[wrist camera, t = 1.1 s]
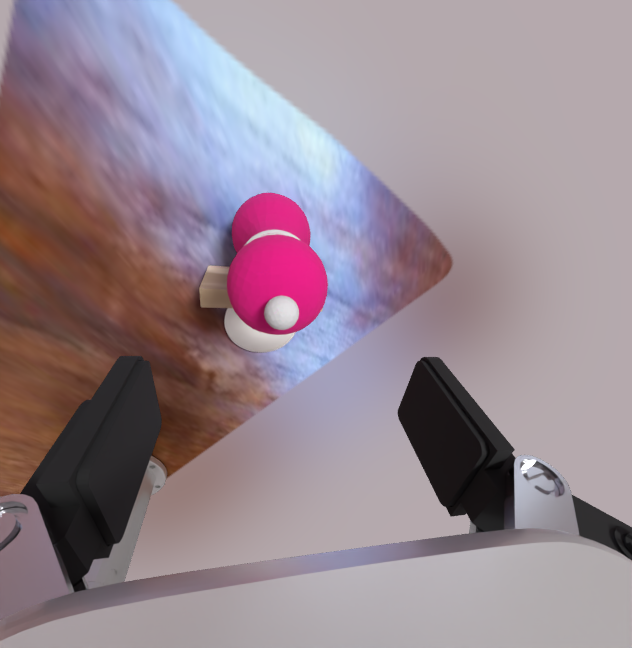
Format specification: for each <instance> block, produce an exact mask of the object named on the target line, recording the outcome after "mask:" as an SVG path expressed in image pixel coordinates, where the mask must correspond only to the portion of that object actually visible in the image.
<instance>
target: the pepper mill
mask: <svg viewBox="0 0 632 648" xmlns="http://www.w3.org/2000/svg"><path fill="white" fill-rule="evenodd" d="M232 240H233V245H234V248H235V250H236V252H237V255H236V256H235V258H234V259H233V261H232V263H231V265H230V268H229V272H228V275H227V293H228V296H229V300H230V303H231V305H232V307H233V309H234V311H235V313H236V314H237V315H238V316H239V318H240V319H241V320H242V321H243V322H244V323H245V324H247V325H248V326H249V327H251V328H253V329H255V330H257V331H259V332H263V333H267V334H273V335H286V334H290V333H294V332H297V331H299V330H301V329H303V328H305V327H306V326H308V325H309V324H310V323H311V322H312V321H313V320H314V319H315V318H316V317H317V316H318V314H319V313H320V311H321V310H322V308H323V305H324V303H325V299H326V296H327V286H328V283H327V275H326V271H325V269H324V266H323V264H322V261H321V260H320V258H319V257H318V255H317V254H316V253H315V252H314V251H313V250H312V249H311V247H310V246H309V244H310V229H309V224H308V221H307V218H306V216H305V214H304V212H303V211H302V210H301V208H300V207H299V206H298V205H297V204H296V203H295V202H293V201H292V200H291V199H289V198H287V197H285V196H282V195H279V194H275V193H262V194H258V195H256V196H254V197H252V198H250V199H248V200H247V201H246V202H245V203H244V204H242V205H241V207H240V208H239V209H238V211H237V212H236V215H235V217H234V220H233V224H232Z"/></svg>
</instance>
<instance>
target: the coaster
mask: <svg viewBox="0 0 632 648" xmlns="http://www.w3.org/2000/svg"><path fill="white" fill-rule="evenodd" d="M224 323H225V329H226V332H227V334H228V336H229V337H230V339H231V340H232V341H233V342H234V343H235V344H236V345H238V346H239V347H241V348H243V349H245V350H248V351H252V352H260V353H262V352H270V351H274V350H277V349H279V348H281V347H283V346H284V345H286V344H287V343H288V342H289V341H290V340H291V339H292V338H293V336H294V334H295V332H294V333H290V334H286V335H273V334H267V333H263V332H259V331H257V330H255V329H253V328H251V327H249V326H248V325H247V324H245V323H244V322H243V321H242V320H241V319H240V318H239V316H238V315H237V314H236V313H235V311H234V309H233V308H227V311H226V314H225V321H224Z"/></svg>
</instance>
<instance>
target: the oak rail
mask: <svg viewBox="0 0 632 648" xmlns="http://www.w3.org/2000/svg"><path fill="white" fill-rule="evenodd" d="M229 268H230V267H226V266H210V265H209V266H208V268H207V271H206V273H205V276H204V278H203V280H202V283H201V285H200V288H199V292H200V303H201V307H208V308H233V307H232V305H231V303H230V300H229V296H228V293H227V275H228V272H229ZM321 311H322V310H321Z"/></svg>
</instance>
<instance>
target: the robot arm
mask: <svg viewBox="0 0 632 648" xmlns="http://www.w3.org/2000/svg"><path fill="white" fill-rule="evenodd" d="M398 417H399V420H400V422H401V424H402V426H403V428H404V430H405V432H406V434H407V436H408V438H409V440H410V442H411V444H412V446H413V448H414V450H415V453H416V455H417V457H418V459H419V461H420V463H421V465H422V467H423V469H424V471H425V473H426V475H427V477H428V478H429V481H430V483H431V485H432V487H433V489H434V491H435V493H436V495H437V497H438V499H439V501H440V503H441V504H442V505H443V506H445V507H446V508H447V510H448V512H449V514H450V516H458V515H465V514H466V513H467V514H468V516H469V518H470V520H471V521H470V530H469V534H462V535H455V536H447V537H439V538H432V539H423V540H416V541H408V542H400V543H393V544H386V545H379V546H370V547H364V548H356V549H349V550H341V551H334V552H326V553H319V554H312V555H305V556H297V557H290V558H283V559H275V560H269V561H261V562H255V563H247V564H240V565H233V566H226V567H219V568H212V569H205V570H197V571H190V572H185V573H178V574H172V575H165V576H159V577H153V578H146V579H140V580H134V581H128V582H124V581H125V578H126V574H127V571H128V568H129V564H130V562H131V558H132V555H133V552H134V549H135V545H136V542H137V539H138V535H139V532H140V529H141V526H142V522H143V519H144V516H145V513H146V509H147V506H148V503H149V500H150V496H151V495H153V494H155V493H156V492H158V491H159V490H160V489H161V488H162V487H163V486H164V484H165V481H166V478H167V470H166V468H165V466H164V465H163V464H162V463H161V462H160V461H159V460H158V459H156V458H155V457H153V456H151V455H152V452H153V449H154V446H155V443H156V440H157V437H158V435H159V432H160V428H161V414H160V409H159V405H158V400H157V395H156V390H155V386H154V381H153V376H152V371H151V367H150V363H149V361H144V360H143V358H142V357H141V356H121V357H119V358H118V359H117V361H116V362H115V364H114V365H113V367H112V368H111V370H110V371H109V373H108V375H107V376H106V378H105V379H104V381H103V382H102V384H101V385H100V387H99V388H98V390H97V391H96V393H95V395H94V396H93V398H92V399H91V400H86V401H84V402H83V403H82V404H81V405H80V406H79V408H78V409H77V411H76V412H75V414H74V415H73V417H72V418H71V420H70V421H69V422H68V424H67V425H66V427H65V428H64V430H63V431H62V433H61V434H60V436H59V437H58V439H57V440H56V442H55V443H54V445H53V446H52V447H51V449H50V450H49V452H48V453H47V455H46V456H45V458H44V459H43V461H42V462H41V464H40V465H39V467H38V468H37V470H36V471H35V472H34V474H33V475H32V477H31V478H30V480H29V481H28V483H27V484H26V486H25V487H24V489H23V490H22V492H21V493H20V494H11V495H7V496H3V497H0V648H632V527H630V526H628V525H626V524H625V523H623V522H621V521H619V520H617V519H615V518H614V517H612V516H610V515H608V514H606V513H604V512H602V511H601V510H599V509H597V508H595V507H593V506H592V505H590V504H588V503H586V502H584V501H582V500H581V499H579V498H577V497H575V496H573V495H572V494H571V490H570V487H569V485H568V483H567V482H566V480H565V479H564V477H563V476H562V475H561V474H560V473H559V472H558V471H557V470H556V469H555V468H553V467H552V466H551V465H549V464H548V463H546V462H545V461H543V460H541V459H539V458H536V457H534V456H530V455H520V456H518V457H517V458H515V457H514V456H513V454H512V452H513V451H514V448H513V447H512V446H511V445H510V443H509V442H508V441H507V440H506V438H505V437H504V436H503V435H502V434H501V433H500V431H499V430H498V429H497V428H496V426H495V425H494V424H493V423H492V421H491V420H490V419H489V418H488V417H487V415H486V414H485V413H484V412H483V410H482V409H481V408H480V407H479V406H478V404H477V403H476V402H475V401H474V399H473V398H472V397H471V396H470V394H469V393H468V392H467V391H466V390H465V388H464V387H463V386H462V385H461V383H460V382H459V381H458V380H457V378H456V377H455V376H454V375H453V374H452V372H451V371H450V370H449V369H448V368H447V366H446V365H445V364H444V363H443V361H442V360H441V359H440V358H438V357H423V358H421V360H420V361H418V362H417V363H416V365H415V368H414V371H413V373H412V376H411V378H410V381H409V383H408V386H407V389H406V391H405V394H404V396H403V399H402V401H401V404H400V406H399V409H398Z"/></svg>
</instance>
